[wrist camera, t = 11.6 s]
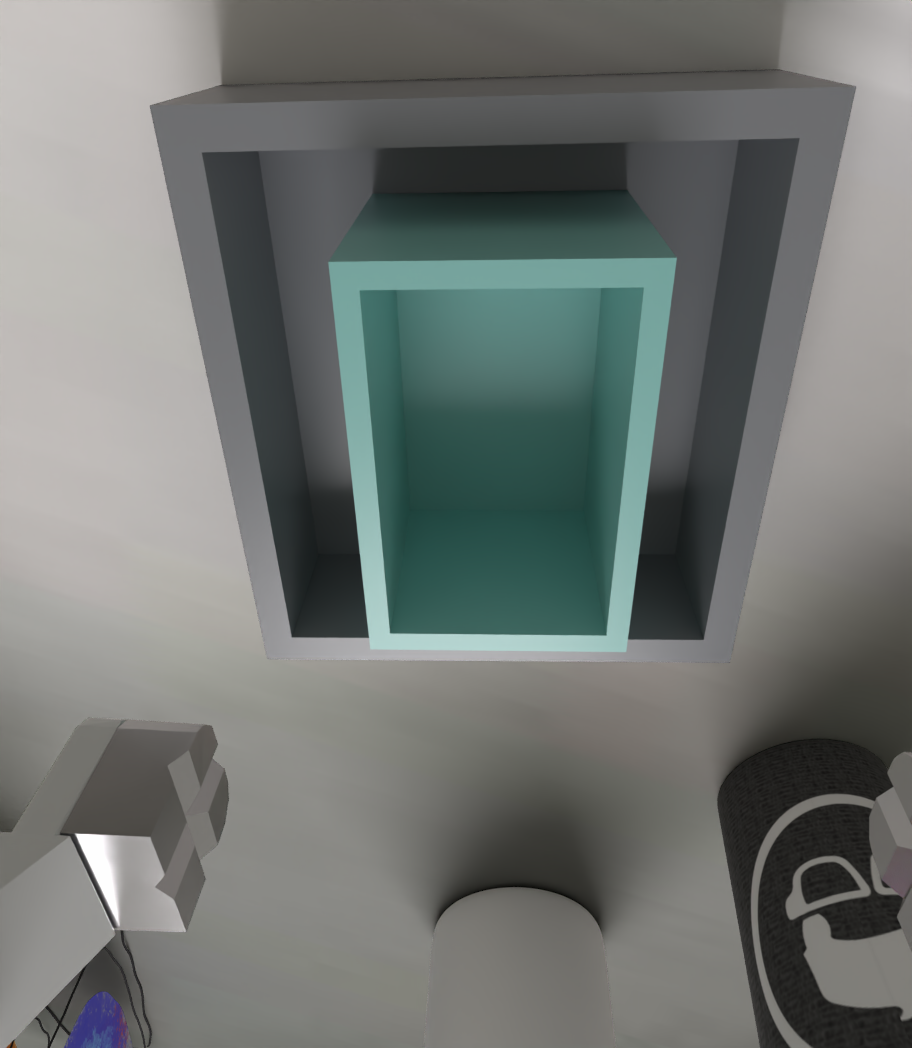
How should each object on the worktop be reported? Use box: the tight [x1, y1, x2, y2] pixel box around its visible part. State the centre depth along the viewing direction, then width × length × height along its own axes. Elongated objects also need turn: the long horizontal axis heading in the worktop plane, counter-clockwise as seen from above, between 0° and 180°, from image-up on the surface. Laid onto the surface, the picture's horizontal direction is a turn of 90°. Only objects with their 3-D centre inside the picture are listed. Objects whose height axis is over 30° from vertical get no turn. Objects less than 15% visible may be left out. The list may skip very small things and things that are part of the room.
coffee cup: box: [718, 740, 912, 1048], centre depth 25 cm, size 10×10×15 cm
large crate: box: [150, 70, 856, 663], centre depth 20 cm, size 13×14×4 cm
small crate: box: [328, 190, 677, 652], centre depth 19 cm, size 6×9×6 cm, turn 1°
